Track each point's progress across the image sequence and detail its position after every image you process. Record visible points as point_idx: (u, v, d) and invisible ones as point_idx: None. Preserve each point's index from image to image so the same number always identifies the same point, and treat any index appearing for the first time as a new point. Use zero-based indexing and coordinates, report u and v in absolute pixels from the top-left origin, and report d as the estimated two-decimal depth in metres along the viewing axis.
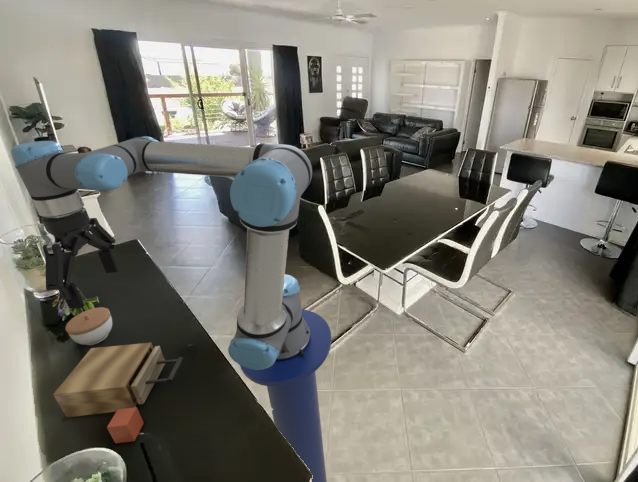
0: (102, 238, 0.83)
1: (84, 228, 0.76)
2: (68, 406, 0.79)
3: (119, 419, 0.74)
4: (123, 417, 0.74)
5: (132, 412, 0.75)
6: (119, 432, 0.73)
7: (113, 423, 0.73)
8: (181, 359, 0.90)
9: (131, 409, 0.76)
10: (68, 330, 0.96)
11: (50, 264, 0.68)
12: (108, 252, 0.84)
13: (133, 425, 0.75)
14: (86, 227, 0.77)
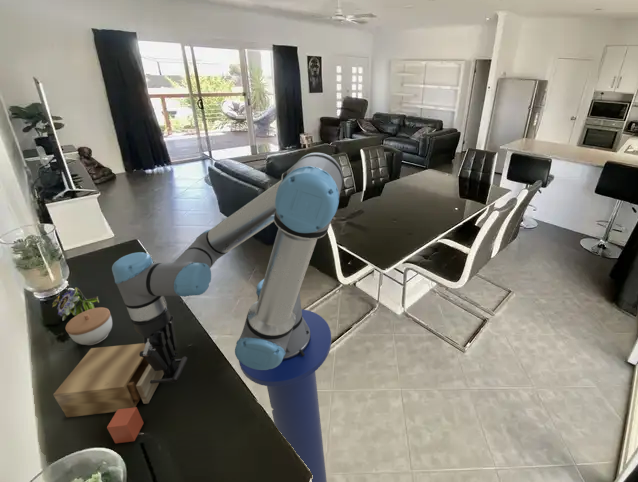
0: None
1: None
2: (68, 406, 0.79)
3: (119, 419, 0.74)
4: (123, 417, 0.74)
5: (132, 412, 0.75)
6: (119, 432, 0.73)
7: (113, 423, 0.73)
8: (185, 359, 0.90)
9: (131, 409, 0.76)
10: (68, 330, 0.96)
11: (151, 360, 0.79)
12: (172, 361, 0.86)
13: (133, 425, 0.75)
14: None
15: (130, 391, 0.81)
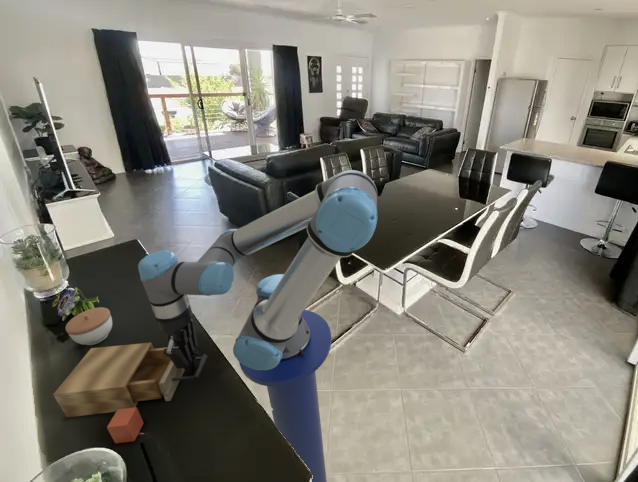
0: None
1: None
2: (68, 406, 0.79)
3: (119, 419, 0.74)
4: (123, 417, 0.74)
5: (132, 412, 0.75)
6: (119, 432, 0.73)
7: (113, 423, 0.73)
8: (205, 357, 0.91)
9: (131, 409, 0.76)
10: (68, 330, 0.96)
11: (174, 358, 0.80)
12: (193, 359, 0.87)
13: (133, 425, 0.75)
14: None
15: (153, 388, 0.82)
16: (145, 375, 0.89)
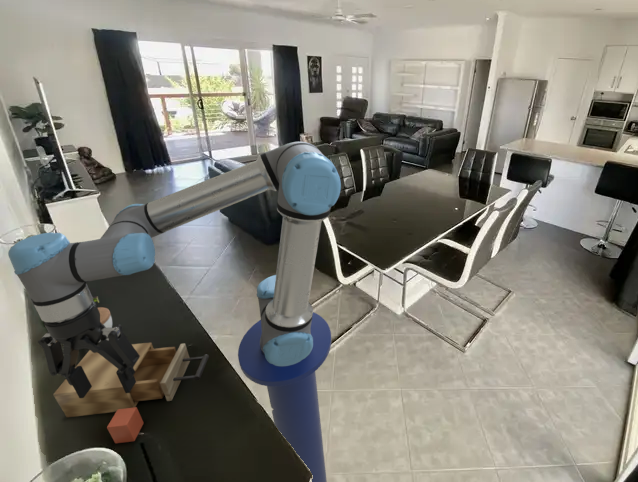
0: None
1: (88, 334, 0.63)
2: (68, 406, 0.79)
3: (119, 419, 0.74)
4: (123, 417, 0.74)
5: (132, 412, 0.75)
6: (119, 432, 0.73)
7: (113, 423, 0.73)
8: (207, 356, 0.91)
9: (131, 409, 0.76)
10: None
11: None
12: None
13: (133, 425, 0.75)
14: (92, 334, 0.63)
15: (154, 388, 0.82)
16: (146, 375, 0.89)
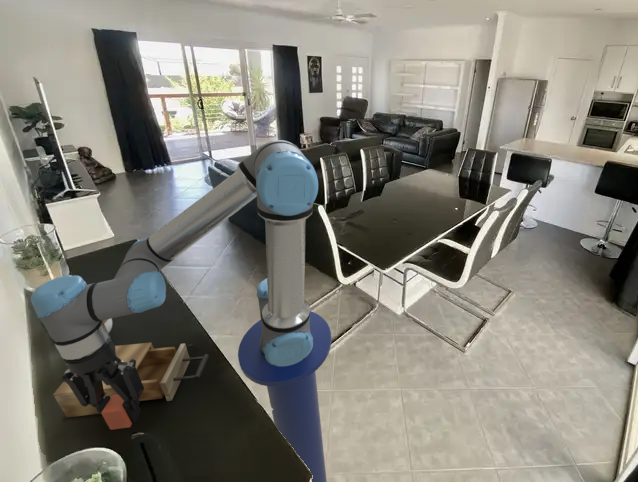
0: None
1: (105, 366, 0.67)
2: (68, 406, 0.79)
3: (113, 405, 0.72)
4: (118, 403, 0.72)
5: None
6: (114, 418, 0.72)
7: (108, 408, 0.71)
8: (207, 356, 0.91)
9: None
10: None
11: None
12: None
13: None
14: (109, 367, 0.67)
15: (154, 388, 0.82)
16: (146, 375, 0.89)
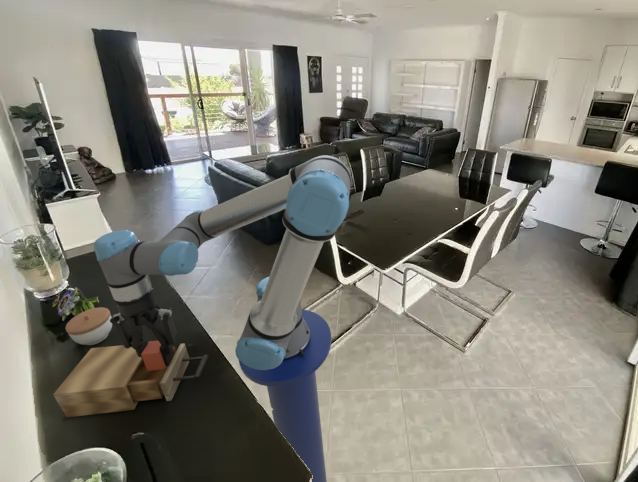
0: None
1: (148, 312, 0.78)
2: (68, 406, 0.79)
3: (151, 348, 0.83)
4: (155, 347, 0.83)
5: None
6: (152, 359, 0.82)
7: (146, 351, 0.82)
8: (206, 356, 0.91)
9: None
10: (68, 330, 0.96)
11: None
12: None
13: None
14: (151, 313, 0.78)
15: (154, 388, 0.82)
16: (146, 375, 0.89)
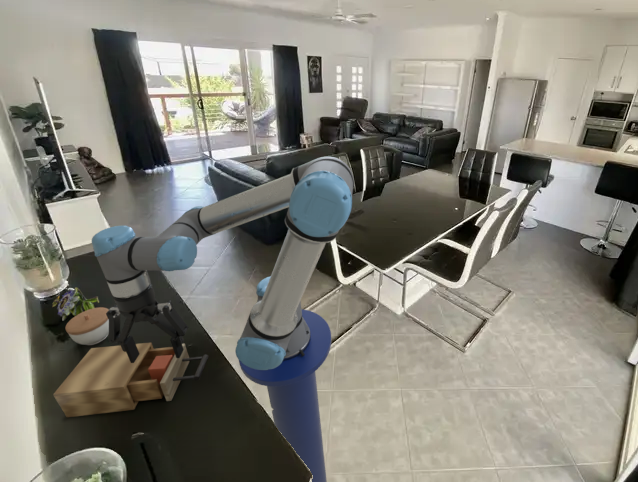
0: None
1: (147, 309, 0.77)
2: (68, 406, 0.79)
3: (158, 363, 0.85)
4: (161, 362, 0.85)
5: (169, 358, 0.87)
6: (158, 374, 0.85)
7: (153, 366, 0.84)
8: (206, 356, 0.91)
9: (168, 356, 0.87)
10: (68, 330, 0.96)
11: None
12: None
13: None
14: (150, 309, 0.77)
15: (154, 388, 0.82)
16: (146, 375, 0.89)
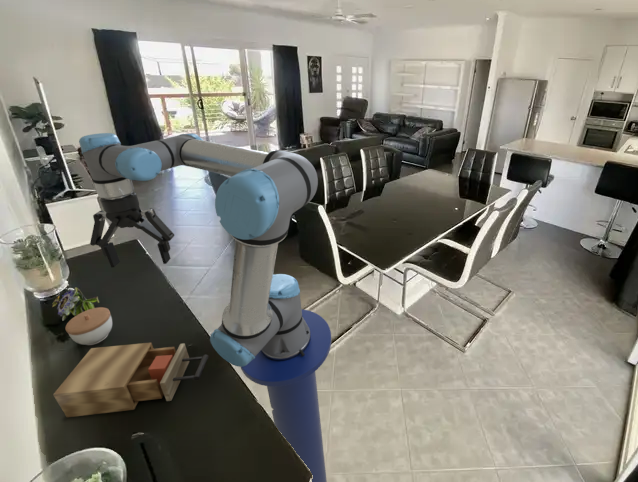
0: None
1: (131, 215, 0.85)
2: (68, 406, 0.79)
3: (158, 363, 0.85)
4: (161, 362, 0.85)
5: (169, 358, 0.87)
6: (158, 374, 0.85)
7: (153, 366, 0.84)
8: (206, 356, 0.91)
9: (168, 356, 0.87)
10: (68, 330, 0.96)
11: None
12: None
13: None
14: (134, 215, 0.85)
15: (154, 388, 0.82)
16: (146, 375, 0.89)
